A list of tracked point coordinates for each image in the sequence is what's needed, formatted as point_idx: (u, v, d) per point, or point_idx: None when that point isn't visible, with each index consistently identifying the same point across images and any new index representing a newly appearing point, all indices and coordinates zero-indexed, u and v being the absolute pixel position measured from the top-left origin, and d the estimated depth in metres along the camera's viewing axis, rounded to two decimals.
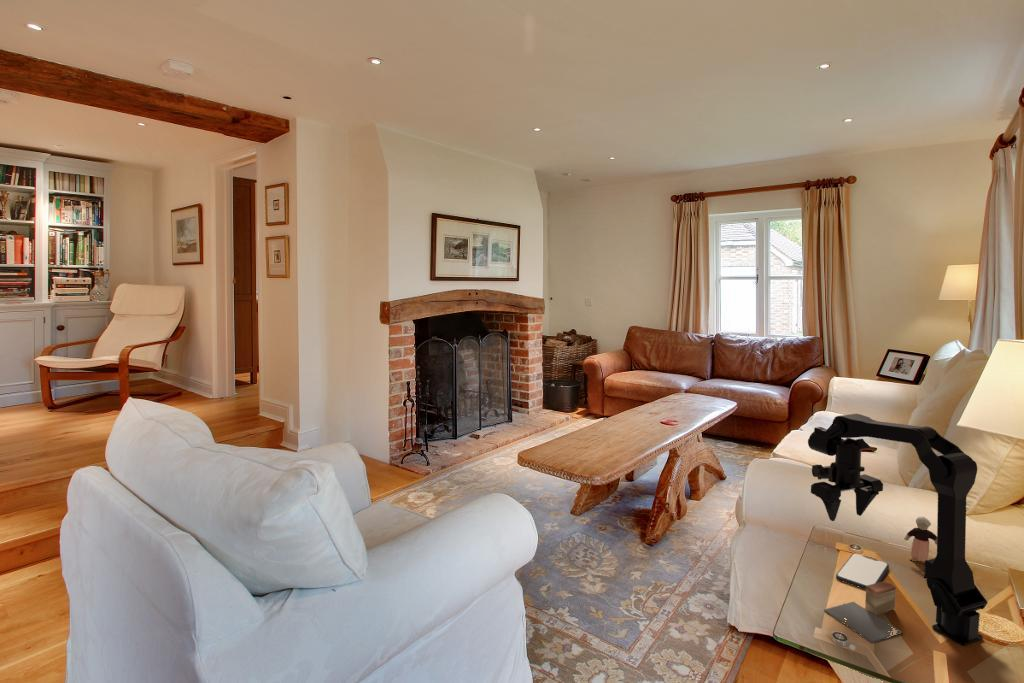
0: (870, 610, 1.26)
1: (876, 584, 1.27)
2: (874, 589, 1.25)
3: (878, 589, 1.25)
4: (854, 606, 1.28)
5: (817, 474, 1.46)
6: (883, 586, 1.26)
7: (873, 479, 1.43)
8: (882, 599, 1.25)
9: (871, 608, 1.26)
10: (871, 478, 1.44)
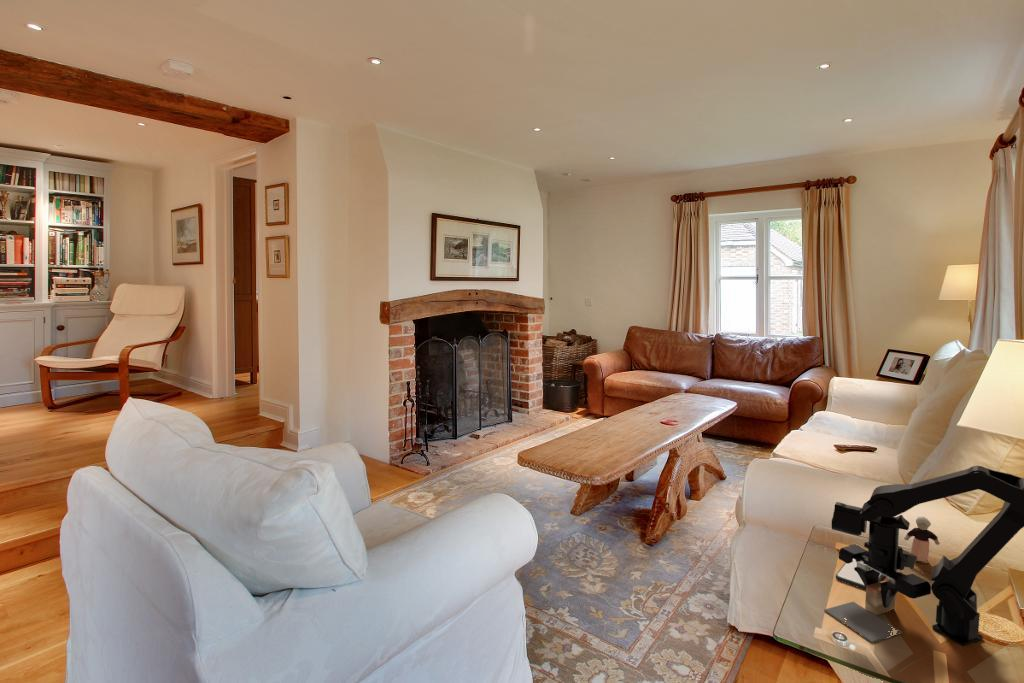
0: (870, 610, 1.26)
1: (876, 584, 1.27)
2: (874, 589, 1.25)
3: (878, 589, 1.25)
4: (854, 606, 1.28)
5: None
6: None
7: (909, 581, 1.18)
8: None
9: (871, 608, 1.26)
10: (914, 581, 1.18)
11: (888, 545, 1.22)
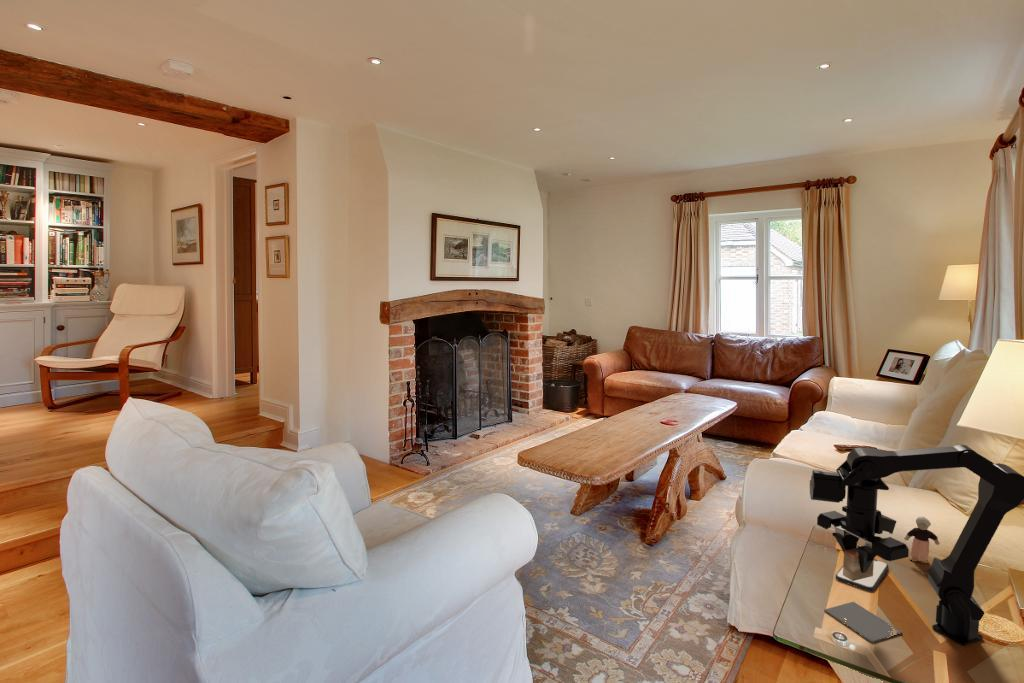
0: (848, 575, 1.23)
1: (854, 549, 1.24)
2: (852, 554, 1.22)
3: (856, 554, 1.22)
4: (854, 606, 1.28)
5: None
6: None
7: (886, 543, 1.15)
8: None
9: (849, 573, 1.23)
10: (892, 544, 1.15)
11: (870, 508, 1.19)
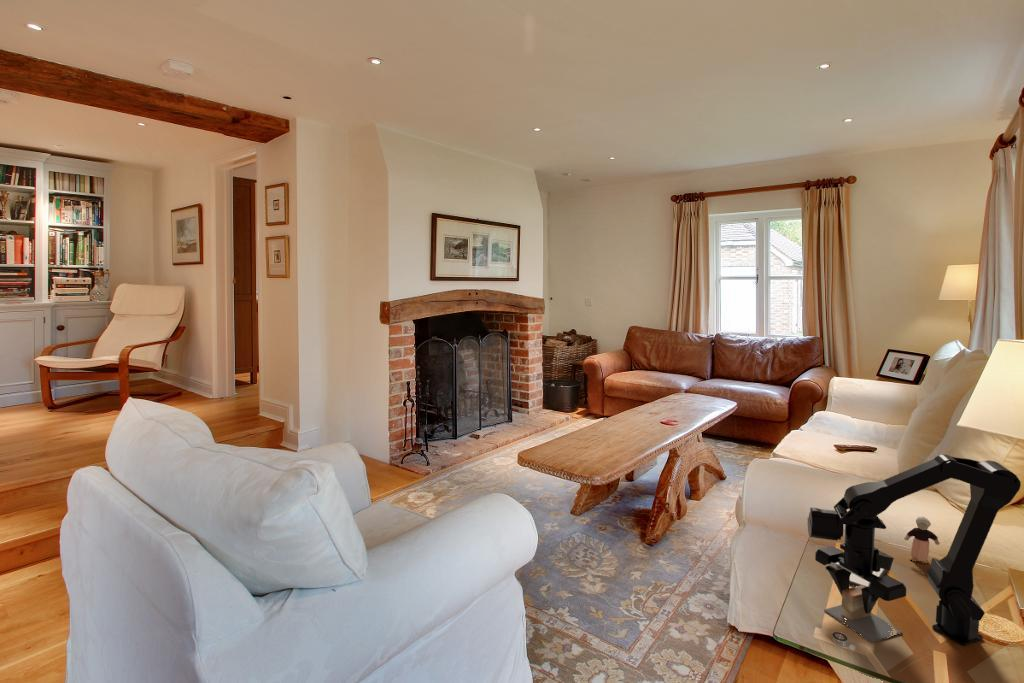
0: (846, 615, 1.24)
1: (852, 588, 1.25)
2: (850, 594, 1.23)
3: (854, 594, 1.23)
4: None
5: None
6: (859, 591, 1.24)
7: (884, 583, 1.16)
8: (858, 604, 1.23)
9: (847, 613, 1.24)
10: (889, 583, 1.16)
11: (868, 546, 1.20)
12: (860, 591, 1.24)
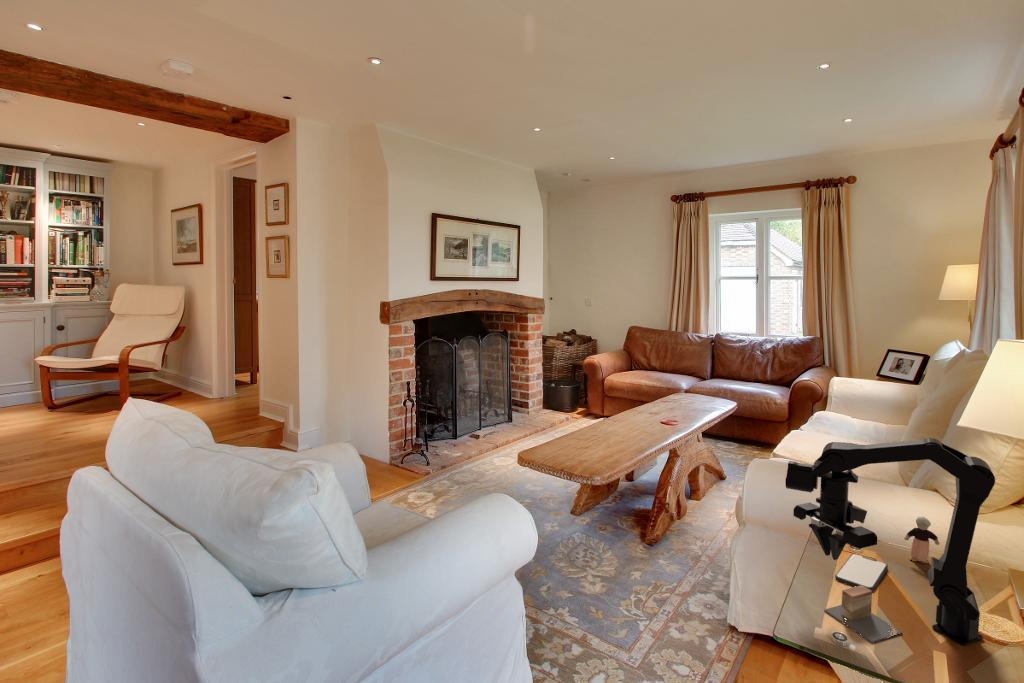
0: (846, 615, 1.24)
1: (852, 588, 1.25)
2: (850, 594, 1.23)
3: (854, 594, 1.23)
4: None
5: None
6: (859, 591, 1.24)
7: (856, 532, 1.22)
8: (858, 604, 1.23)
9: (847, 613, 1.24)
10: (861, 532, 1.22)
11: (839, 499, 1.26)
12: (860, 591, 1.24)
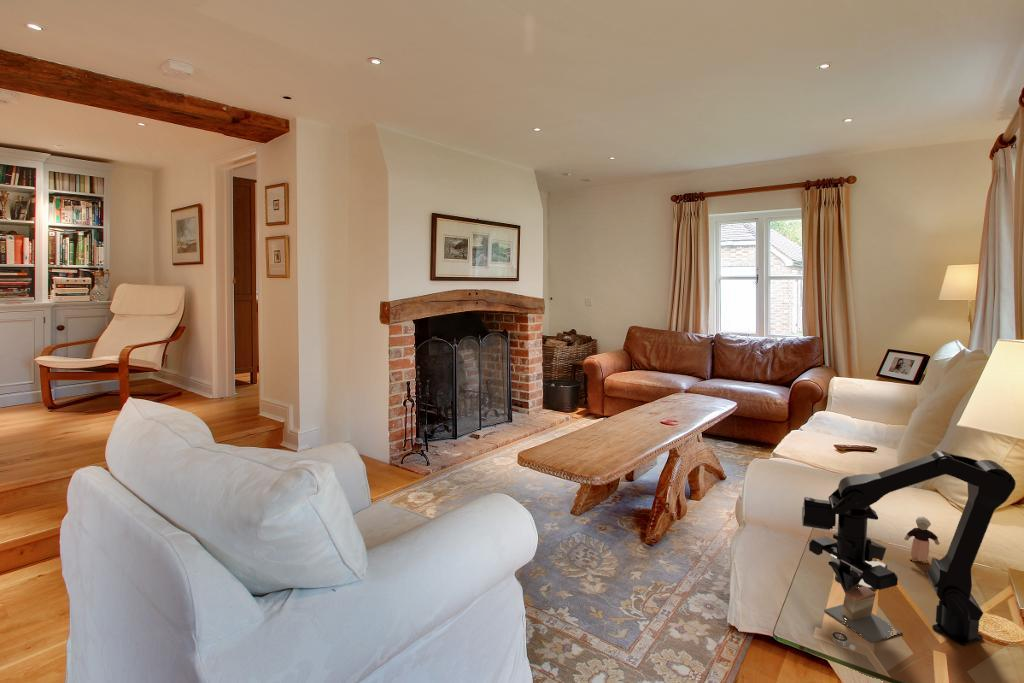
0: (846, 615, 1.24)
1: (856, 589, 1.24)
2: (854, 596, 1.22)
3: (858, 596, 1.22)
4: None
5: None
6: (863, 592, 1.23)
7: (876, 572, 1.18)
8: (860, 605, 1.22)
9: (848, 613, 1.23)
10: (881, 572, 1.18)
11: (860, 536, 1.22)
12: (864, 593, 1.23)
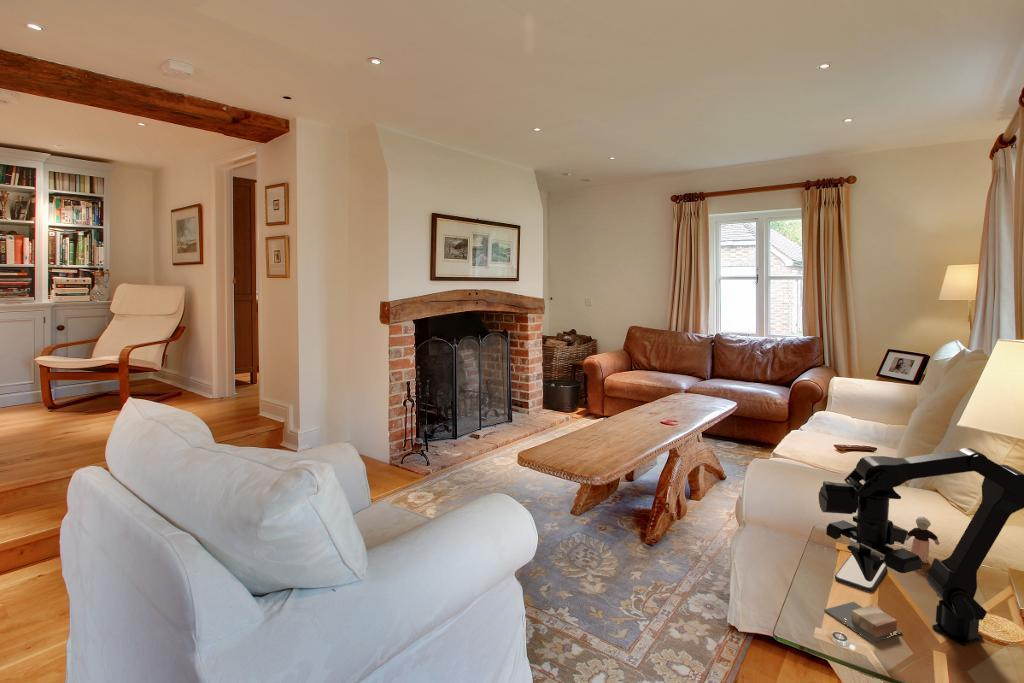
0: (853, 617, 1.22)
1: (885, 625, 1.18)
2: (877, 633, 1.17)
3: (880, 634, 1.17)
4: (854, 606, 1.28)
5: None
6: (888, 629, 1.18)
7: (899, 555, 1.12)
8: None
9: (856, 619, 1.21)
10: (905, 555, 1.12)
11: (884, 518, 1.16)
12: (888, 630, 1.18)
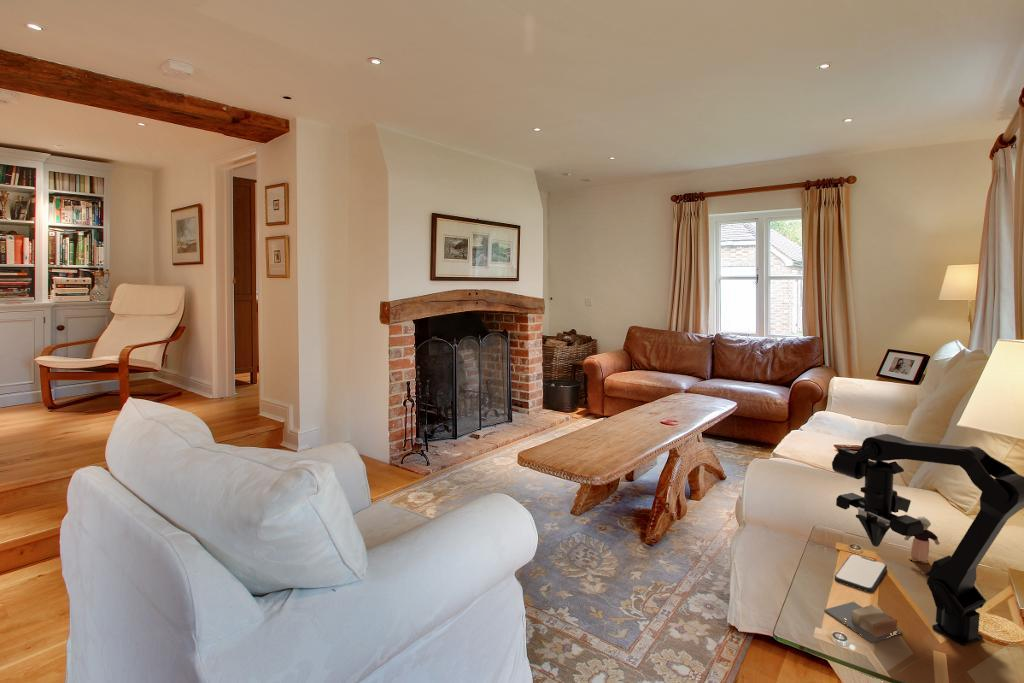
0: (853, 617, 1.22)
1: (885, 625, 1.18)
2: (877, 633, 1.17)
3: (880, 634, 1.17)
4: (854, 606, 1.28)
5: None
6: (888, 629, 1.18)
7: (903, 520, 1.24)
8: None
9: (856, 619, 1.21)
10: (908, 520, 1.24)
11: (877, 487, 1.29)
12: (888, 630, 1.18)
